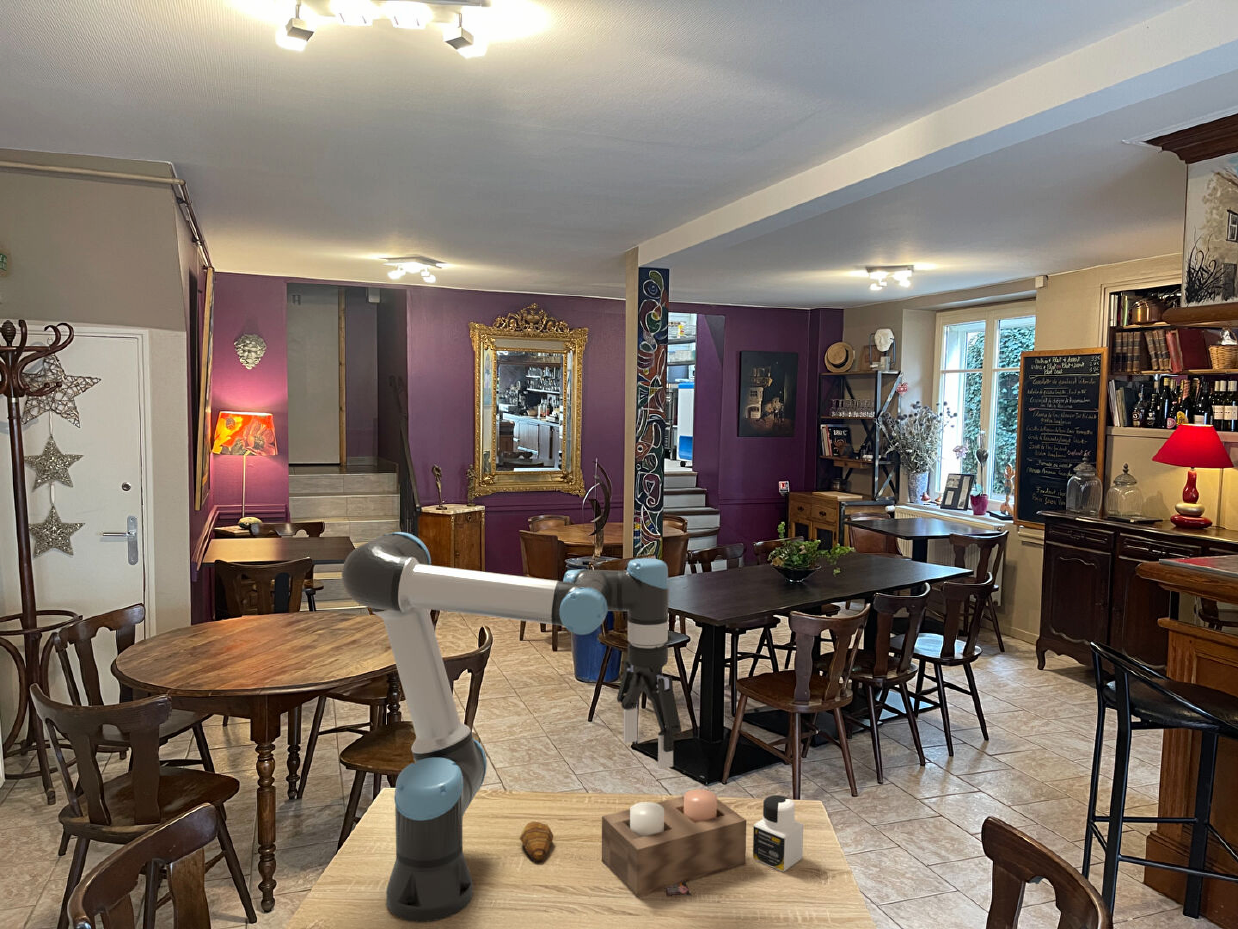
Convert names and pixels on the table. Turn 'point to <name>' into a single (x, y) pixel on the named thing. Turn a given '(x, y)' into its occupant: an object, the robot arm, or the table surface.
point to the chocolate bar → (677, 890)
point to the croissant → (536, 840)
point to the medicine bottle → (778, 834)
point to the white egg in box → (646, 818)
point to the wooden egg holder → (673, 848)
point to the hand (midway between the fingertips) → (647, 754)
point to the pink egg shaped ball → (700, 805)
